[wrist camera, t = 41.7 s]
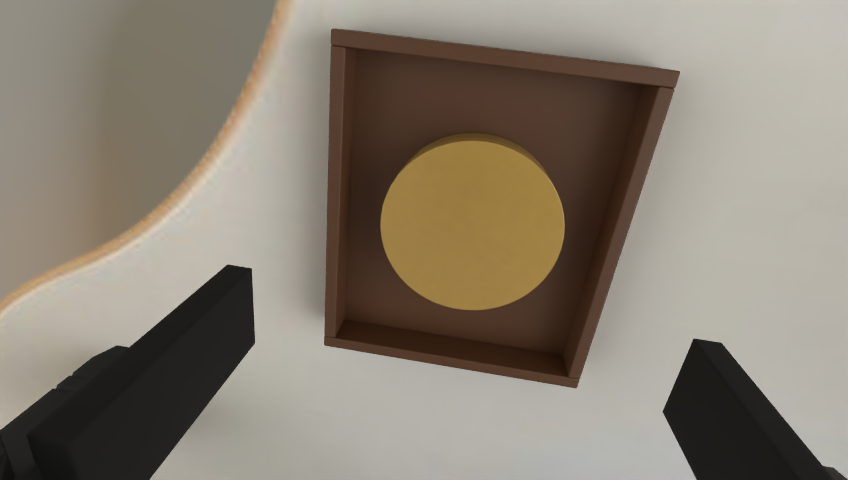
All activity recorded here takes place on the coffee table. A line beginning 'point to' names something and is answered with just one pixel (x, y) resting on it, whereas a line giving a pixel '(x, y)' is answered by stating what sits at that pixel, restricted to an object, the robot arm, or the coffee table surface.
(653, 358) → the coffee table surface
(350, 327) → the tray
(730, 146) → the coffee table surface
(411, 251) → the lid
